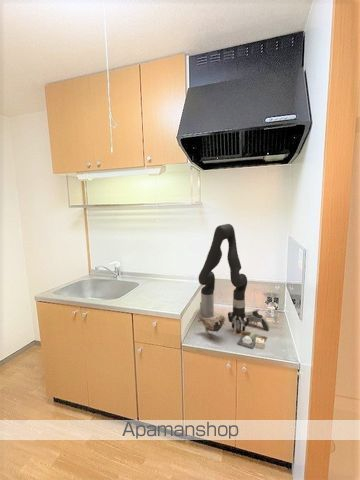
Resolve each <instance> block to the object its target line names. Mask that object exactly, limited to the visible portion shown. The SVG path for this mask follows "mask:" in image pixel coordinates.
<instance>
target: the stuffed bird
mask: <svg viewBox="0 0 360 480" xmlns="http://www.w3.org/2000/svg"><path fill="white" fill-rule="evenodd" d="M225 321H226V316H225V315H223V314H220V315H219V316H216V317H215V318H213V319H212V318H203V317H200V316H198V319H197V322H198V323H199V324H201V325H203V326H204V328H205V332H206V333H207V335H208V337H209V339H210V340H211V339H215V338H214V337H212V333H210V332H216V333H217V332H219V331H220V330H221V329H222V326H223V325H224V326H226V324H225V323H224V322H225Z"/></svg>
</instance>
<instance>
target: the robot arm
mask: <svg viewBox="0 0 360 480" xmlns="http://www.w3.org/2000/svg"><path fill="white" fill-rule="evenodd" d="M225 240H227V243H228V250H227V263H228V265H229V270H230V271H229V272H230V275H229V276H230V281H231V284H232V286H234V287H235V288H234V290H233V294H232V297H233V298H232V311H229V312H228V313H227V316H228V317H227V318H228V322H229V323H231V328H232V329H233V330H234V329H236V327H235V321H236V320H239V321H241V330H242V331H243V332H244V331H246V327H248V326H249V323H250V322H249V319H250V317H249V316H248V317H247V316H246V315H245V312H246V298H245V297H246V289H247V286H248V278H247V276H246V274H244V273H240V271H241V269H242V264H241V261H240V257H239V254H238V248H237V247H238V246H237V239H236V232H235V229H234V226H233V225H232V224H230V223H225V224H221V225H218V226H216V228H215V229H214V233H213V237H212V242H211V245H210V249H209V250H208V253H207V256H206V259H205V262H204V264H203V267H202V268H201V270H200V272H199V273H198V274H199V275H198V282H199V285H201V286H203V287H202V288H201V290H200V297H201V298H200V302H199V307H200V309H199V315H201V316H202V317H204V318H210V317H214V316H215V315H214V312H215V308H214V307H215V306H214V305H215V304H214V302H215V301H214V299H215V297H214V295H215V293H214V291H215V287H216V286H215V285H216V276H215V274H214V272H213V270H214V269H215V268H216V267H218V265H219V263H220V262H221V259H222V256H223V252H222V248H221V247H222V243H224V241H225ZM231 312H233V313H231ZM232 315H233V317H234V318H233V320H232ZM245 320H246V321H245Z"/></svg>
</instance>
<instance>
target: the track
mask: <svg viewBox="0 0 360 480" xmlns="http://www.w3.org/2000/svg"><path fill="white" fill-rule="evenodd" d="M232 333H233V334H235V335H239V336H241V337H242V336H249V337H250V338H253V339H256V338H261V339H264V343H266V342H267V340H268V338H269V337H268V336H264V335H260V334H257V333H254V332H250V331H247V330H245V331H244V332H243V331H242V329H241V333H236V329H235V330H234V331H233V332H232Z"/></svg>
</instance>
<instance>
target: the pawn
mask: <svg viewBox="0 0 360 480" xmlns="http://www.w3.org/2000/svg"><path fill="white" fill-rule="evenodd" d="M235 330H236V333H241V330H242V323H241V321H239V320H235Z"/></svg>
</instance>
